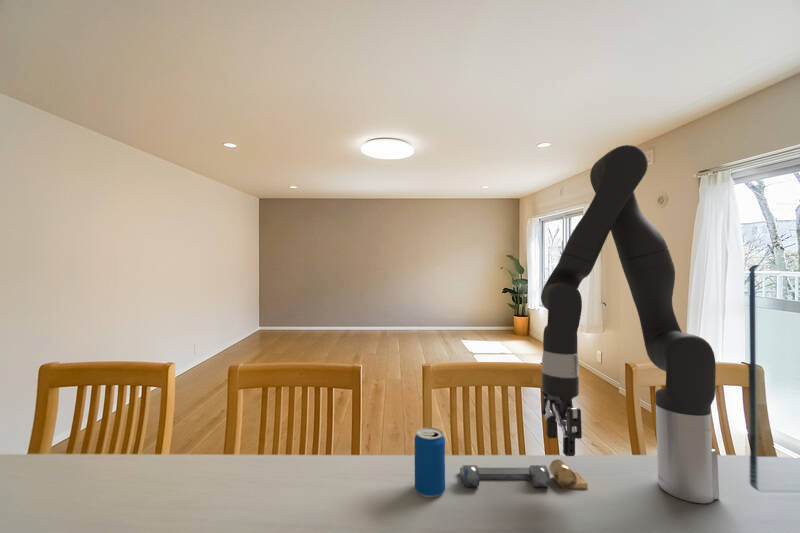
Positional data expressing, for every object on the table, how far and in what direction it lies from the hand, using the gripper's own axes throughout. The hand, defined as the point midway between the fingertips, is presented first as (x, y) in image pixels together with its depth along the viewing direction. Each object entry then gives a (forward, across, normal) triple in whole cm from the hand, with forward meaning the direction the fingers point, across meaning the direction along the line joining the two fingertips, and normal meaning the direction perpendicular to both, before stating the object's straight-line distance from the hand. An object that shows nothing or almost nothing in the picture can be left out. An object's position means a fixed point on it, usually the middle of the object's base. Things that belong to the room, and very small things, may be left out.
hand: (559, 445), depth 78 cm
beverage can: (+9, -3, +29) cm, 30 cm away
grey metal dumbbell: (+8, 0, +12) cm, 15 cm away
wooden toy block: (+8, 0, -2) cm, 8 cm away
